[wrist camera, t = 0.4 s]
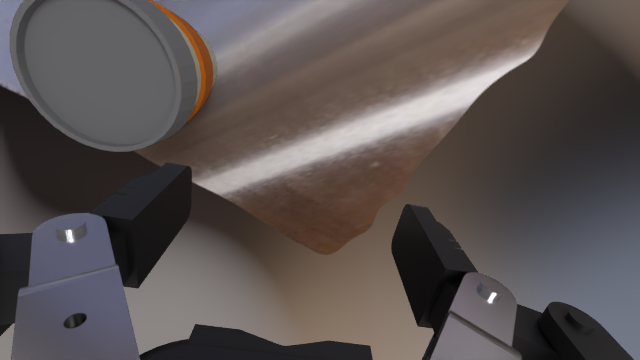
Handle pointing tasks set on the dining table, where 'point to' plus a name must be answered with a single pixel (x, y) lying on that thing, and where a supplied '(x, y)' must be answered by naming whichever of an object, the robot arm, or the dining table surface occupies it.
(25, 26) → the reusable coffee cup
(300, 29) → the dining table surface
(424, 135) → the dining table surface
